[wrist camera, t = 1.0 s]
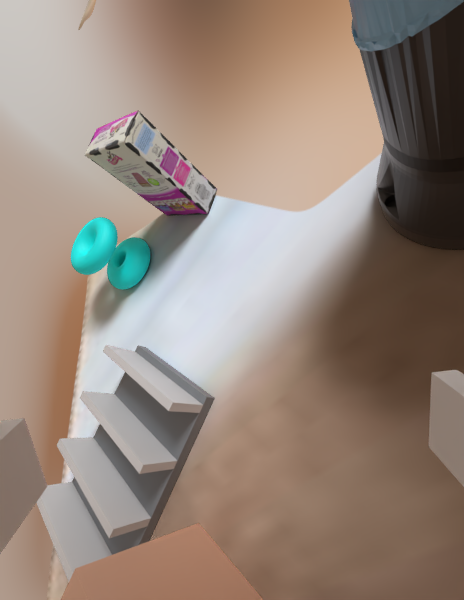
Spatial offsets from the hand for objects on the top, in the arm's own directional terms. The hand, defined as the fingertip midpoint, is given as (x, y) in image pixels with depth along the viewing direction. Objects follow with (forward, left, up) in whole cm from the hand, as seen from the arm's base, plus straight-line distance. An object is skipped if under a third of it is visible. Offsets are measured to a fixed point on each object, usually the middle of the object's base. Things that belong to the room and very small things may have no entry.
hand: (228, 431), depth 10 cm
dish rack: (+18, -25, -22) cm, 38 cm away
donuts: (-5, -46, -22) cm, 51 cm away
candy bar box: (-19, -39, -22) cm, 49 cm away
